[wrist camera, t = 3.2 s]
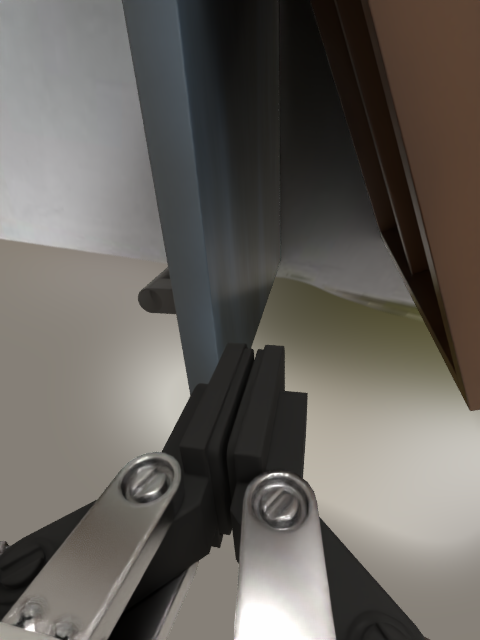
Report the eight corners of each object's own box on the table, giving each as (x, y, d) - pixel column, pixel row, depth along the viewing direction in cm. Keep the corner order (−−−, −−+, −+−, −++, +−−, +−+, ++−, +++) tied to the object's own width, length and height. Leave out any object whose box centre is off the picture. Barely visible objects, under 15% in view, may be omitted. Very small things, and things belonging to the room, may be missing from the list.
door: (213, 260, 38) (88, 407, 18) (179, -69, 26) (-341, -770, 6) (280, 261, 37) (225, 423, 16) (277, -90, 24) (40, -1178, 4)
